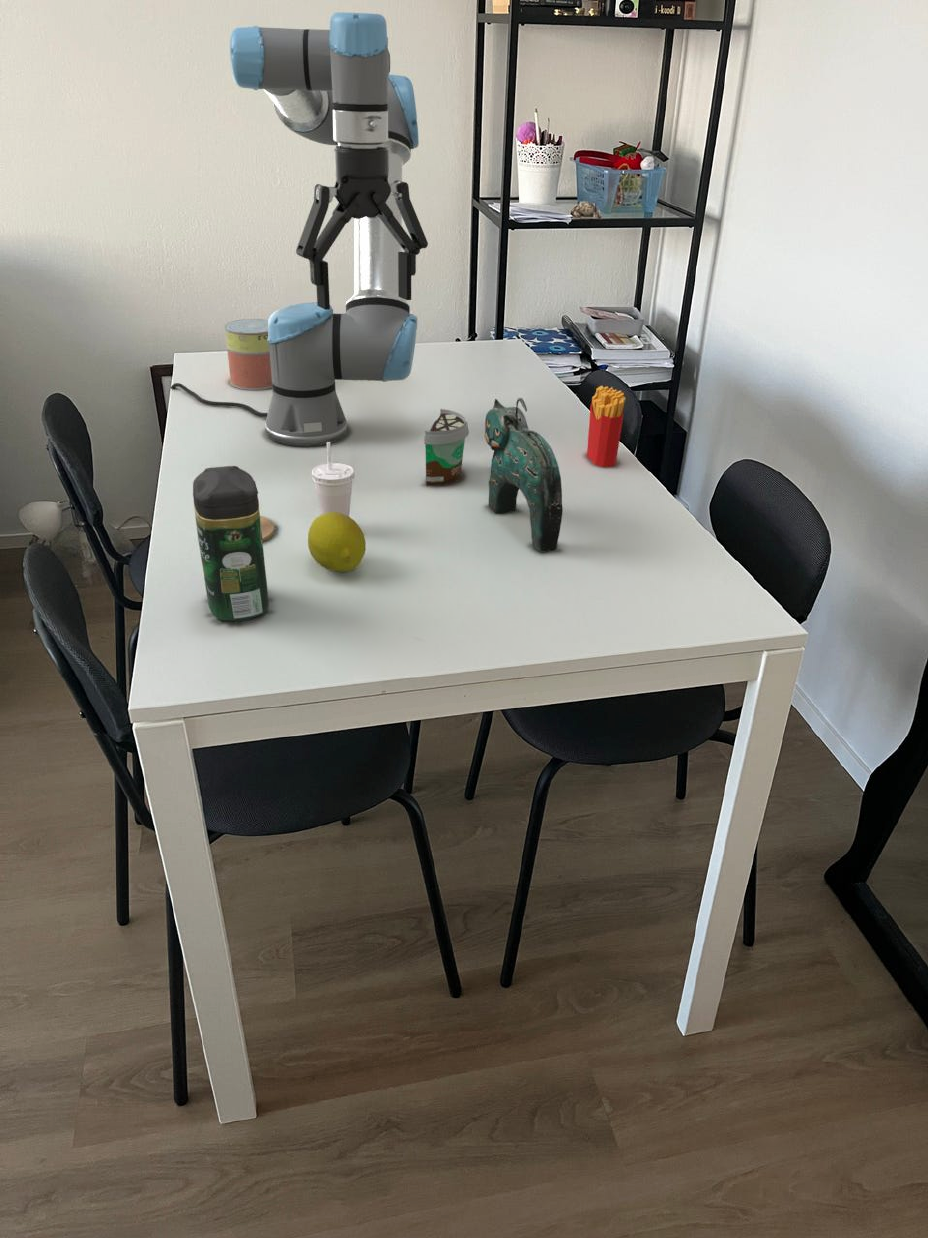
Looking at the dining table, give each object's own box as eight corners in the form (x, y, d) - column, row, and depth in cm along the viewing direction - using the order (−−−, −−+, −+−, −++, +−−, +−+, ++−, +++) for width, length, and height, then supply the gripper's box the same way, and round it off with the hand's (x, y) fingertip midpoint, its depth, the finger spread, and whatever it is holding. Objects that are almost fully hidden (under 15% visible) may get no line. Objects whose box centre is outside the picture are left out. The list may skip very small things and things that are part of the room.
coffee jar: (204, 591, 128) (187, 463, 118) (263, 584, 130) (251, 457, 121) (210, 628, 120) (192, 494, 111) (273, 620, 123) (261, 487, 113)
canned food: (278, 390, 200) (273, 333, 194) (224, 389, 200) (218, 331, 194) (287, 374, 210) (283, 319, 203) (236, 372, 210) (231, 317, 203)
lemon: (373, 580, 132) (372, 528, 128) (318, 588, 130) (315, 535, 126) (355, 546, 141) (353, 496, 137) (303, 552, 139) (299, 502, 134)
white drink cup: (326, 517, 149) (322, 432, 141) (363, 524, 147) (361, 439, 140) (307, 534, 144) (302, 447, 136) (345, 541, 142) (342, 454, 135)
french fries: (581, 451, 176) (588, 383, 169) (603, 450, 177) (611, 381, 170) (600, 470, 168) (608, 399, 161) (622, 469, 169) (631, 398, 162)
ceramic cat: (477, 503, 155) (482, 383, 144) (513, 497, 157) (520, 379, 147) (532, 557, 140) (542, 427, 129) (571, 550, 142) (583, 422, 131)
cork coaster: (198, 525, 145) (197, 522, 145) (259, 512, 150) (259, 509, 149) (221, 552, 138) (220, 548, 138) (285, 537, 142) (284, 534, 142)
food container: (459, 492, 158) (461, 435, 153) (424, 488, 159) (424, 432, 154) (473, 465, 169) (475, 411, 163) (440, 461, 170) (441, 407, 164)
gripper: (287, 150, 122) (298, 317, 133) (452, 145, 134) (449, 299, 145) (265, 144, 127) (277, 305, 138) (425, 140, 139) (424, 289, 150)
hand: (365, 302), depth 142 cm, fingers open, 13 cm apart
